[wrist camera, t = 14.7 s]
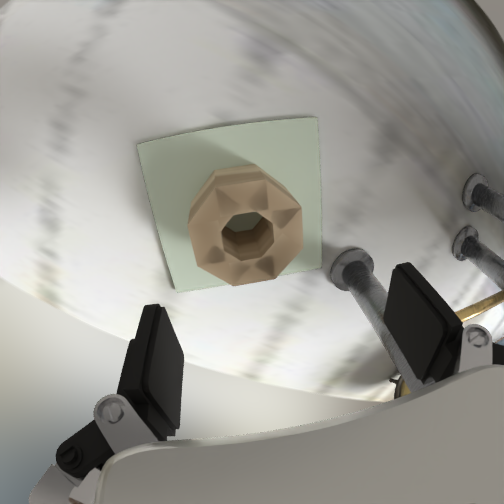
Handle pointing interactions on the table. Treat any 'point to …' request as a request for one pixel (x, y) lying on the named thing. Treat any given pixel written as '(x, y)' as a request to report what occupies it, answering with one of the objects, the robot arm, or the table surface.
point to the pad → (225, 156)
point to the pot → (249, 241)
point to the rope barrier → (465, 247)
